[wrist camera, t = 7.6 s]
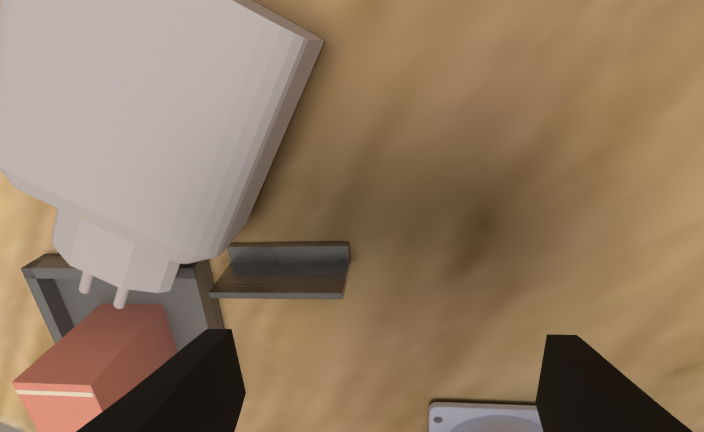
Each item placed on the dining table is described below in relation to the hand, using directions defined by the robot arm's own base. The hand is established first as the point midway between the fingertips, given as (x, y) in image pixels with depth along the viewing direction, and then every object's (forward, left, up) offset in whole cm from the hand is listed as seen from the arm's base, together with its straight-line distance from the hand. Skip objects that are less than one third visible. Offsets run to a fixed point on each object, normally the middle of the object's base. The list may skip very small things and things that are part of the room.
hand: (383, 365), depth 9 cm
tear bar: (-3, +5, -10) cm, 11 cm away
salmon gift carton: (-7, +14, -9) cm, 18 cm away
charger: (+3, +10, -10) cm, 15 cm away
